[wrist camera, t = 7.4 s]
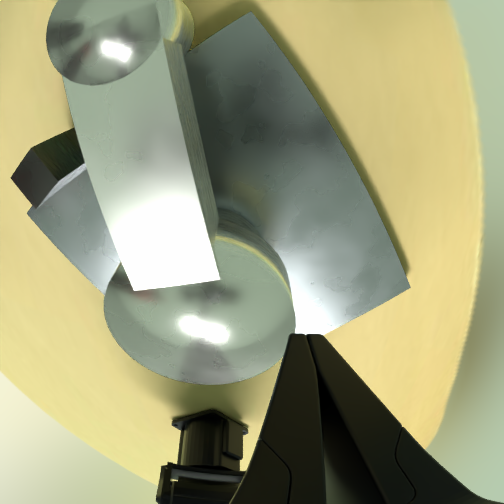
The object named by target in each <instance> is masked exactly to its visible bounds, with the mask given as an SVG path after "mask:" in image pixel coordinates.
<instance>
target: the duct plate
mask: <svg viewBox="0 0 504 504" xmlns="http://www.w3.org/2000/svg"><path fill="white" fill-rule="evenodd" d="M184 59H185V64H186V69H187V74H188V79H189V84H190V88H191V93H192V98H193V103H194V107H195V112H196V117H197V122H198V126H199V131H200V135H201V140H202V145H203V149H204V154H205V158H206V163H207V167H208V172H209V176H210V180H211V185H212V189H213V194H214V198H215V202H216V207H217V211H218V215H219V218H221V219H224V220H228V221H232V222H234V223H237V224H239V225H242V226H244V227H246V228H248V229H249V230H251V231H253V232H255V233H256V234H257V235H259V236H260V237H262V238H263V239H264V240H265V241H266V242H267V243H268V244H269V245H271V246H272V247H273V249H274V250H275V251H276V252H277V254H278V255H279V256H280V258H281V260H282V262H283V263H284V265H285V268H286V270H287V273H288V277H289V282H290V287H291V293H292V298H293V304H294V310H295V315H296V330H295V333H304V334H305V335H306V334H308V333H319V334H322V335H323V334H325V333H327V332H329V331H331V330H333V329H335V328H337V327H339V326H341V325H343V324H345V323H347V322H349V321H351V320H353V319H355V318H357V317H359V316H361V315H363V314H364V313H366V312H368V311H370V310H372V309H374V308H375V307H377V306H379V305H381V304H383V303H385V302H386V301H388V300H390V299H392V298H393V297H395V296H397V295H399V294H400V293H402V292H404V291H406V290H407V289H409V288H411V287H410V285H409V282H408V280H407V277H406V275H405V272H404V270H403V267H402V265H401V262H400V260H399V258H398V255H397V253H396V251H395V248H394V246H393V244H392V242H391V239H390V237H389V235H388V233H387V231H386V228H385V226H384V224H383V222H382V220H381V218H380V216H379V214H378V211H377V209H376V207H375V205H374V203H373V201H372V199H371V197H370V195H369V193H368V191H367V189H366V187H365V185H364V184H363V182H362V180H361V178H360V176H359V174H358V172H357V170H356V168H355V167H354V165H353V163H352V161H351V159H350V157H349V156H348V154H347V152H346V150H345V148H344V147H343V145H342V143H341V141H340V140H339V138H338V136H337V135H336V133H335V131H334V130H333V128H332V126H331V125H330V123H329V121H328V120H327V118H326V116H325V115H324V113H323V111H322V110H321V108H320V107H319V105H318V104H317V102H316V100H315V99H314V97H313V96H312V94H311V93H310V91H309V90H308V88H307V87H306V85H305V84H304V82H303V81H302V79H301V78H300V76H299V75H298V73H297V72H296V70H295V69H294V67H293V66H292V65H291V63H290V62H289V60H288V59H287V58H286V56H285V55H284V53H283V52H282V51H281V49H280V48H279V47H278V45H277V44H276V42H275V41H274V40H273V39H272V37H271V36H270V35H269V33H268V32H267V31H266V29H265V28H264V27H263V26H262V24H261V23H260V22H259V20H258V19H257V18H256V17H255V15H254V14H253V13H252V12H249V13H247V14H246V15H244V16H242V17H240V18H239V19H237V20H236V21H234V22H232V23H231V24H229V25H228V26H226V27H224V28H223V29H221V30H220V31H218V32H217V33H215V34H214V35H212V36H211V37H209V38H208V39H206V40H205V41H203V42H202V43H200V44H199V45H198V46H196V47H195V48H193V49H192V50H191V51H189V52H188V53H187V54H186V56H185V57H184ZM11 179H12V180H13V182H14V183H15V184H16V185H17V187H18V188H19V189H20V190H21V192H22V193H23V194H24V195H25V197H26V198H27V199H28V200H29V201H30V203H31V204H32V205H33V206H32V207H31V208H30V210H29V211H28V212H27V214H28V215H29V217H30V218H31V219H32V220H33V221H34V222H35V224H36V225H37V226H38V227H39V228H40V229H41V230H42V232H43V233H44V234H45V235H46V236H47V237H48V238H49V239H50V240H51V242H52V243H53V244H54V245H55V246H56V247H57V248H58V249H59V250H60V251H61V252H62V253H63V254H64V255H65V256H66V258H67V259H68V260H69V261H70V262H71V263H72V264H73V265H74V266H75V267H76V268H77V269H78V270H79V271H80V272H81V273H82V274H83V275H84V276H85V277H86V278H87V279H88V280H89V281H90V282H91V283H92V284H93V285H94V286H95V287H96V288H98V289H99V290H100V291H101V292H102V293H103V294H104V295H105V292H106V289H107V286H108V284H109V282H110V280H111V278H112V276H113V274H114V272H115V270H116V269H117V267H118V265H119V263H120V261H121V259H120V257H119V254H118V252H117V249H116V247H115V244H114V242H113V239H112V237H111V234H110V232H109V229H108V227H107V224H106V222H105V219H104V216H103V214H102V211H101V208H100V205H99V203H98V200H97V197H96V194H95V191H94V188H93V185H92V182H91V179H90V176H89V173H88V170H87V167H86V164H85V161H84V158H83V154H82V151H81V148H80V144H79V141H78V137H77V134H76V130H75V128H72V129H70V130H68V131H66V132H63V133H61V134H59V135H57V136H55V137H53V138H50V139H48V140H46V141H44V142H42V143H40V144H38V145H36V146H34V147H32V148H31V149H30V150H29V152H28V153H27V154H26V156H25V157H24V159H23V160H22V162H21V163H20V165H19V166H18V167H17V169H16V170H15V172H14V173H13V175H12V177H11Z"/></svg>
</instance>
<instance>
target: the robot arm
mask: <svg viewBox="0 0 504 504" xmlns="http://www.w3.org/2000/svg"><path fill="white" fill-rule="evenodd" d="M172 426H174V427H175V428H177V429H179V430H181V435H180V443H179V452H178V461H177V464H173V463H171V462H168V464H167V465H164V466H161V473H160V480H159V485H158V490H157V495H156V502H157V503H158V504H504V503H500V502H495V501H491V500H487V499H484V498H482V497H480V496H478V495H476V494H475V493H473V492H471V491H470V490H469V489H468V488H466V487H465V486H464V485H463V484H462V483H461V482H459V481H458V480H457V479H456V478H455V477H454V476H453V475H452V474H450V473H449V472H448V471H447V470H446V469H445V468H444V467H443V466H441V465H440V464H439V463H438V462H437V461H436V460H435V459H434V458H433V457H432V456H431V455H430V454H428V452H426V451H425V450H424V449H423V447H422V446H421V445H420V444H419V443H418V442H417V441H416V440H415V439H414V438H413V437H412V436H411V435H410V433H409V432H408V431H407V430H406V429H405V428H404V427H402V425H401V423H400V422H399V421H398V420H397V419H396V418H395V417H394V415H393V414H392V413H391V412H390V411H389V410H388V409H387V407H386V406H385V405H384V404H383V403H382V402H381V401H380V399H379V398H378V397H377V396H376V395H375V394H374V393H373V392H372V390H371V389H370V388H369V387H368V386H367V385H366V384H365V382H364V381H363V380H362V379H361V378H360V377H359V376H358V374H357V373H356V372H355V371H354V370H353V369H352V368H351V367H350V365H349V364H348V363H347V362H346V361H345V360H344V359H343V357H342V356H341V355H340V354H339V353H338V352H337V351H336V349H335V348H334V347H333V346H332V345H331V344H330V343H329V341H328V340H327V339H326V338H325V337H324V336H323V335H322V334H319V333H308V334H306V335H305V334H304V333H291V334H289V337H288V341H287V345H286V348H285V352H284V355H283V359H282V362H281V366H280V369H279V373H278V376H277V380H276V383H275V386H274V390H273V393H272V396H271V400H270V403H269V406H268V410H267V413H266V416H265V419H264V422H263V425H262V429H261V432H260V435H259V438H258V441H257V443H256V446H255V450H254V453H253V455H252V458H251V460H250V463H249V466H248V468H247V471H240V460H242V458H243V435H246V434H248V429H247V428H245V427H243V426H241V425H240V424H238V423H236V422H235V421H233V420H231V419H230V418H228V417H226V416H225V415H223V414H221V413H220V412H218V411H216V410H208V411H205V412H201V413H198V414H195V415H191V416H188V417H184V418H181V419H177V420H174V421H172ZM172 479H175V480H178V481H172Z"/></svg>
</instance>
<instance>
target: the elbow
mask: <svg viewBox="0 0 504 504" xmlns="http://www.w3.org/2000/svg"><path fill="white" fill-rule="evenodd" d="M193 37H194V21H193V17H192V14H191V12H190V10H189V9H188V7H187V6H186V5H185V4H184V3H183V2H182V1H181V0H58V1H57V3H56V5H55V7H54V9H53V11H52V13H51V16H50V18H49V22H48V26H47V33H46V43H47V50H48V54H49V57H50V59H51V62H52V63H53V65H54V67H55V68H56V69H57V71H58V72H59V73H60V74H61V75H62V77H63V82H64V86H65V91H66V95H67V99H68V103H69V107H70V111H71V115H72V119H73V123H74V127H75V130H76V134H77V137H78V141H79V144H80V148H81V151H82V154H83V158H84V161H85V164H86V167H87V170H88V173H89V176H90V179H91V182H92V185H93V188H94V191H95V194H96V197H97V200H98V203H99V205H100V208H101V211H102V214H103V216H104V219H105V222H106V224H107V227H108V229H109V232H110V234H111V237H112V239H113V242H114V244H115V247H116V249H117V252H118V254H119V257H120V259H121V261H120V263H119V265H118V267H117V269H116V270H115V272H114V274H113V276H112V278H111V280H110V282H109V284H108V286H107V289H106V292H105V297H104V313H105V319H106V322H107V325H108V328H109V330H110V332H111V333H112V335H113V337H114V338H115V340H116V341H117V343H118V344H119V345H120V346H121V348H122V349H123V350H124V351H125V352H126V353H127V354H128V355H129V356H130V357H132V358H133V359H134V360H136V361H137V362H138V363H140V364H141V365H143V366H144V367H146V368H148V369H149V370H151V371H153V372H155V373H157V374H160V375H162V376H165V377H167V378H171V379H174V380H177V381H182V382H186V383H193V384H203V385H219V384H228V383H234V382H239V381H242V380H246V379H249V378H252V377H254V376H256V375H259V374H261V373H262V372H264V371H266V370H268V369H269V368H270V367H272V366H273V365H275V364H276V363H277V362H278V361H279V360H280V359H281V358H282V357H283V355H284V352H285V348H286V345H287V341H288V337H289V334H291V333H295V330H296V315H295V310H294V304H293V298H292V293H291V287H290V282H289V277H288V273H287V270H286V268H285V265H284V263H283V262H282V260H281V258H280V256H279V255H278V254H277V252H276V251H275V250H274V249H273V247H272V246H271V245H269V244H268V243H267V242H266V241H265V240H264V239H263V238H262V237H260V236H259V235H257V234H256V233H255V232H253V231H251V230H249V229H248V228H246V227H244V226H242V225H239V224H237V223H234V222H232V221H228V220H224V219H221V218H219V215H218V211H217V207H216V202H215V198H214V194H213V189H212V185H211V180H210V176H209V172H208V167H207V163H206V158H205V154H204V149H203V145H202V140H201V135H200V131H199V126H198V122H197V117H196V112H195V107H194V103H193V98H192V93H191V88H190V84H189V79H188V74H187V69H186V64H185V59H184V57H185V56H186V54H187V52H188V51H189V49H190V47H191V44H192V41H193Z"/></svg>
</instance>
